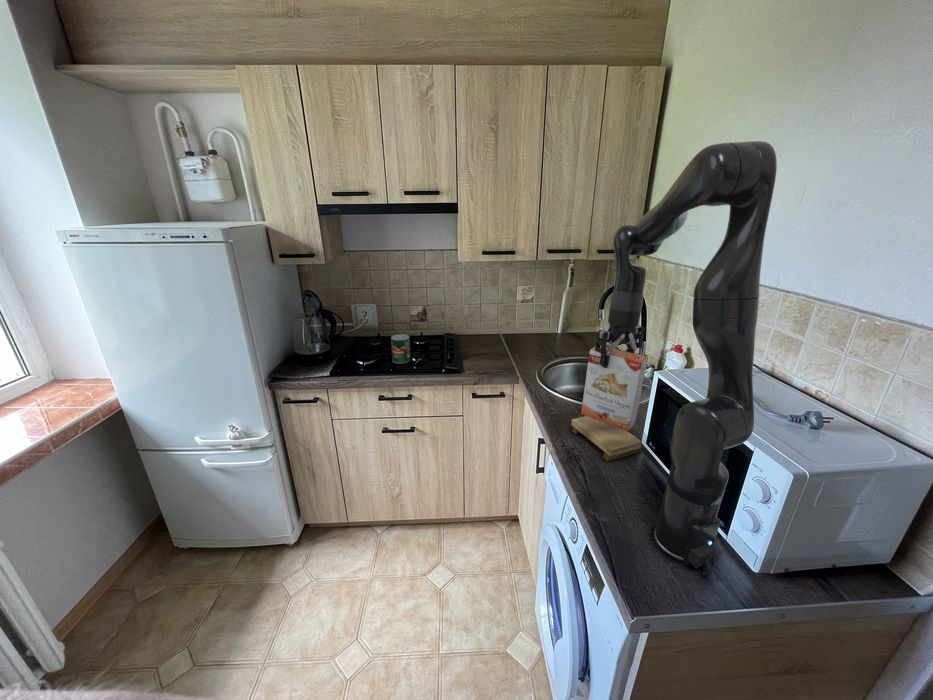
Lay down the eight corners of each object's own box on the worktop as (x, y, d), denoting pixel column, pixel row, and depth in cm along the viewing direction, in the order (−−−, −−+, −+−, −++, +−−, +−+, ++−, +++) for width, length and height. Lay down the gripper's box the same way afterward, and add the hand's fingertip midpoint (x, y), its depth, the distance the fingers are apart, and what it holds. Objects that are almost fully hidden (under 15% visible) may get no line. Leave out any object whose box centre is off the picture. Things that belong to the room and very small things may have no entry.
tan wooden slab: (639, 453, 107) (642, 441, 106) (609, 462, 103) (611, 450, 102) (598, 423, 122) (600, 412, 121) (570, 430, 118) (571, 419, 117)
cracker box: (580, 415, 112) (588, 349, 104) (588, 407, 116) (597, 343, 109) (628, 432, 104) (642, 361, 96) (635, 423, 108) (649, 355, 100)
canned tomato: (393, 364, 165) (392, 340, 161) (391, 358, 172) (389, 334, 168) (411, 362, 167) (410, 338, 163) (408, 356, 174) (407, 333, 170)
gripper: (614, 312, 92) (605, 374, 98) (658, 307, 97) (646, 366, 103) (593, 305, 99) (586, 363, 104) (635, 301, 104) (626, 356, 110)
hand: (616, 364), depth 104 cm, fingers closed on cracker box, 8 cm apart
